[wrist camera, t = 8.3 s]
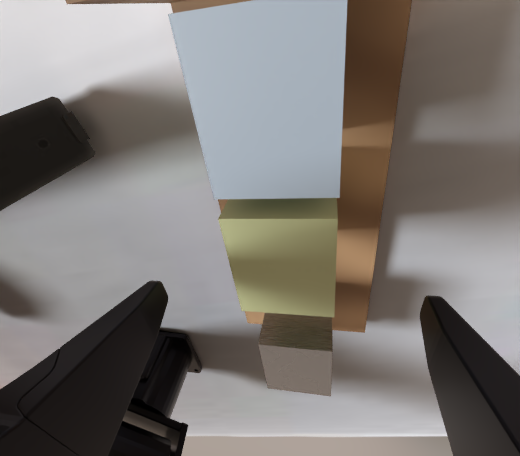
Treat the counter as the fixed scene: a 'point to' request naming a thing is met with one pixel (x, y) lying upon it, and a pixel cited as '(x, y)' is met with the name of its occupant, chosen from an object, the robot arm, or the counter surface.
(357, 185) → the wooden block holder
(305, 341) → the grey cube-like block
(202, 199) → the counter surface
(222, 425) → the counter surface
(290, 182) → the pale blue block
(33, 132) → the magazine
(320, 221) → the pale yellow block
